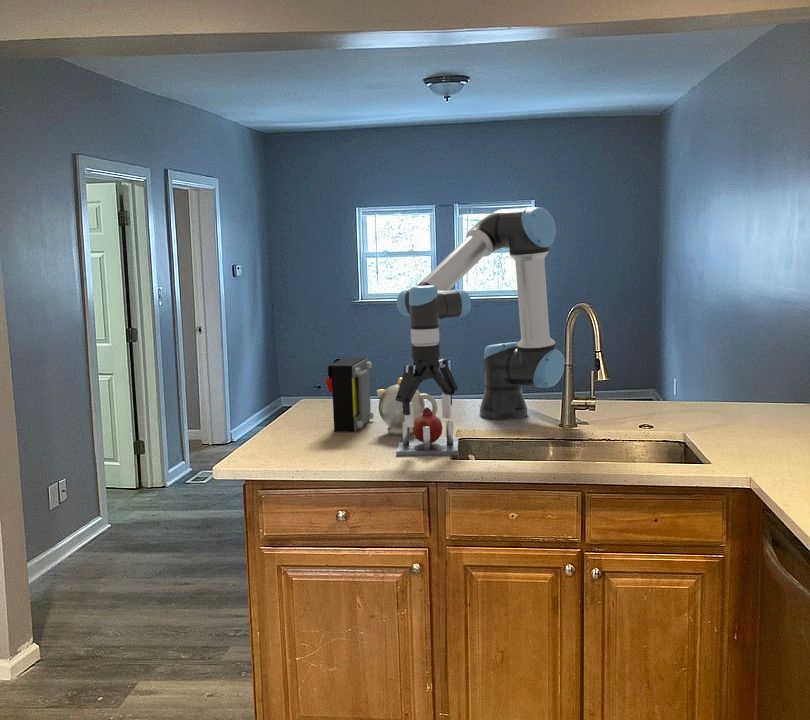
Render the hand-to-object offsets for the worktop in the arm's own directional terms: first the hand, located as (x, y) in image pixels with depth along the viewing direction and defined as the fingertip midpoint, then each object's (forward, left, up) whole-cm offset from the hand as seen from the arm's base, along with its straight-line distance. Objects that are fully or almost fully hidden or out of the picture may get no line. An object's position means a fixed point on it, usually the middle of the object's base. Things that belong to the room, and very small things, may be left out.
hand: (428, 422), depth 228 cm
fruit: (0, 0, -6) cm, 6 cm away
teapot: (+7, -20, -7) cm, 22 cm away
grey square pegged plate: (0, 0, -7) cm, 7 cm away
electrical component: (+25, -31, -7) cm, 40 cm away
